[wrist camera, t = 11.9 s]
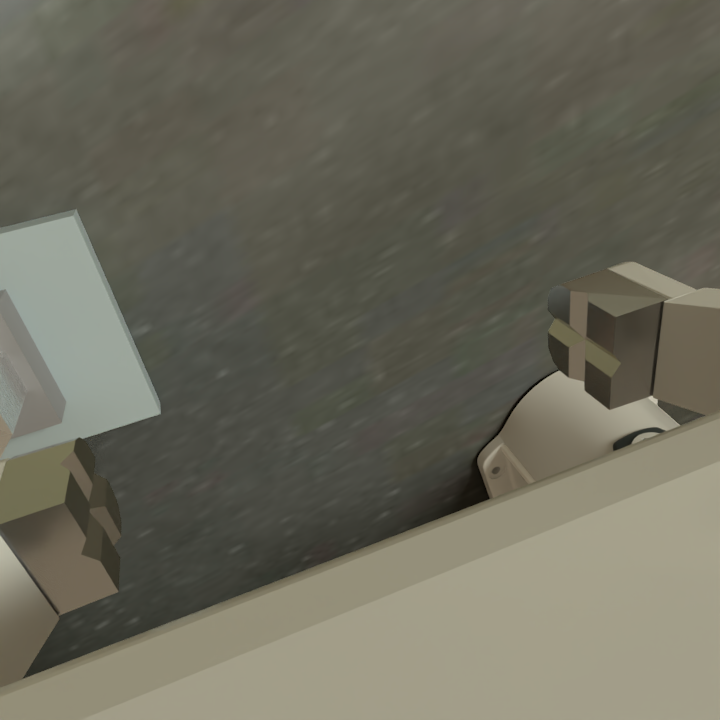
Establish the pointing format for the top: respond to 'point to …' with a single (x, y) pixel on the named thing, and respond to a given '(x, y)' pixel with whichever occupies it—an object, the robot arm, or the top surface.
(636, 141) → the top surface
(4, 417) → the ring
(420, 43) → the top surface
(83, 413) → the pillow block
